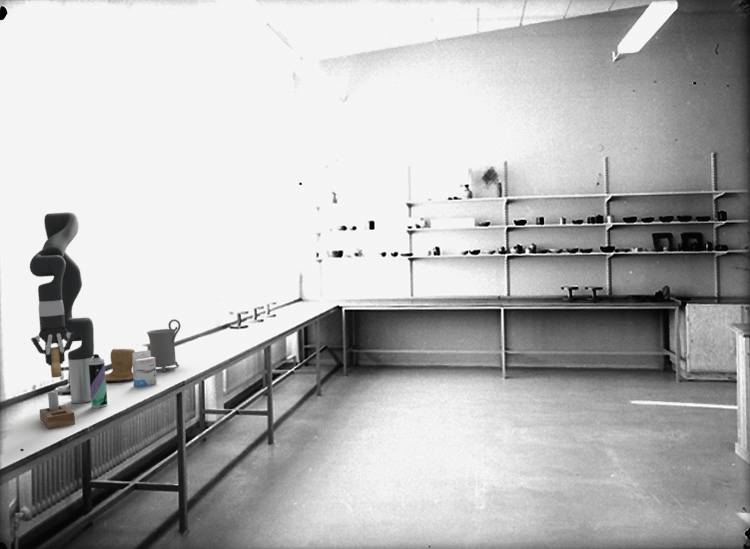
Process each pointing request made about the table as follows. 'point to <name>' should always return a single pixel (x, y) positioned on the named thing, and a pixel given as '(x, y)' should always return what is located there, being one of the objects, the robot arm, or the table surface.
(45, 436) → the table surface
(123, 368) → the tan ankle boot
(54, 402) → the grey peg
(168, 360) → the mug
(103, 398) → the spray can
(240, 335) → the table surface
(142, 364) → the ink box
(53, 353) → the oak peg
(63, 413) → the walnut block
